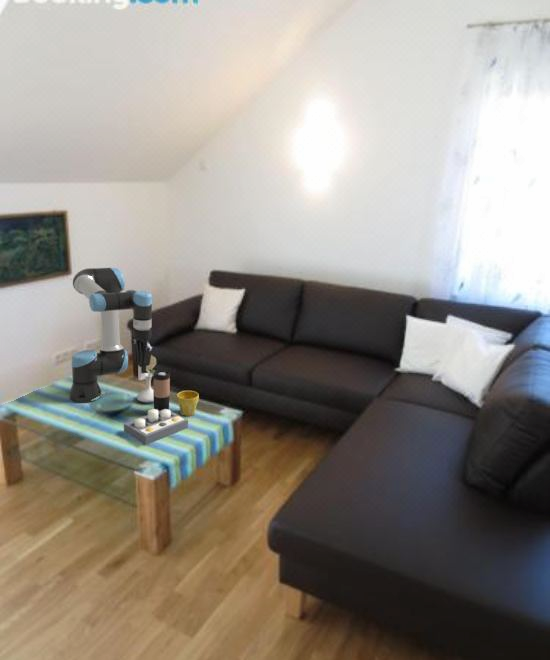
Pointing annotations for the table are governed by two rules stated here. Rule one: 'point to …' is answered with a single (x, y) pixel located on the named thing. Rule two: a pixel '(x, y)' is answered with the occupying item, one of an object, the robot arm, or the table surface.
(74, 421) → the table surface
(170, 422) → the strip
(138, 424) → the button
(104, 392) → the table surface
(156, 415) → the button
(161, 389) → the travel mug
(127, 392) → the table surface
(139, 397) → the flower in vase
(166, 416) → the button
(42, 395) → the table surface
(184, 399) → the plant pot
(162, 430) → the tray
